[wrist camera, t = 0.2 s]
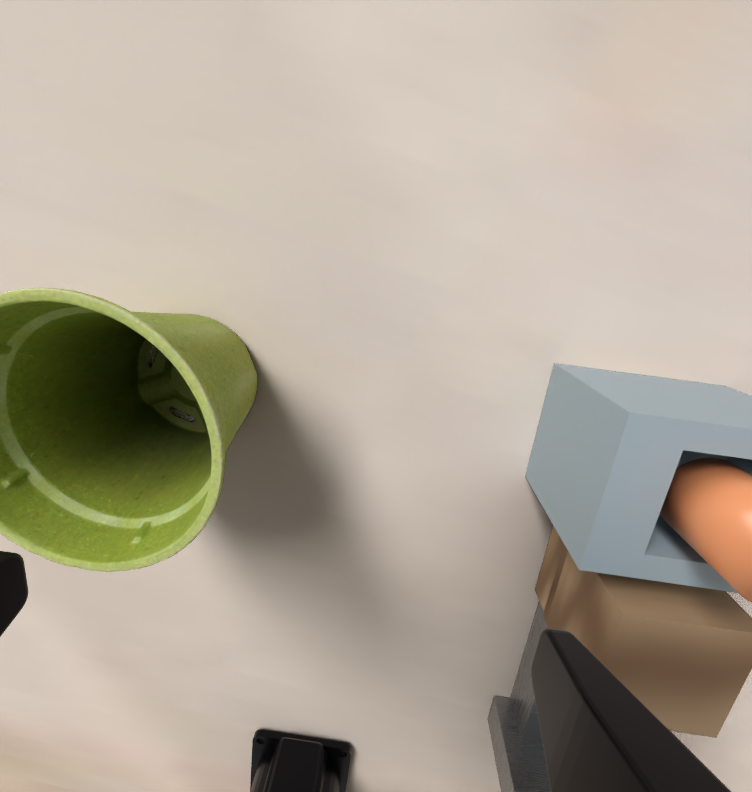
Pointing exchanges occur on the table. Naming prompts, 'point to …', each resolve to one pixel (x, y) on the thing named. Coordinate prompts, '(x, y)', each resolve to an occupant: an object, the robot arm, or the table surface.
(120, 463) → the plant pot
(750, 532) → the brown egg
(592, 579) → the block
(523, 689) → the rail
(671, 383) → the blue grey open box
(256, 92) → the table surface
